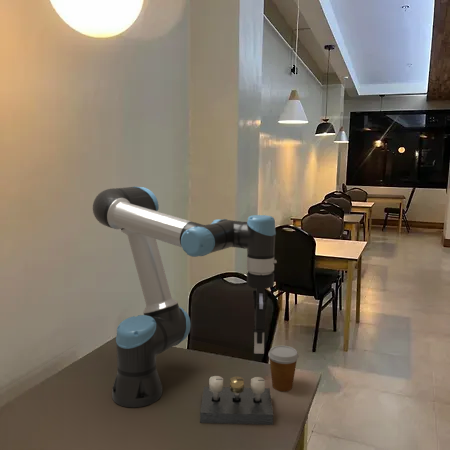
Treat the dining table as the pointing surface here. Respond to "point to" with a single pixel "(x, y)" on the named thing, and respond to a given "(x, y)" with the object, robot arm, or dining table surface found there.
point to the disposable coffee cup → (283, 367)
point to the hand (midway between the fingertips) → (258, 352)
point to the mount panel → (236, 407)
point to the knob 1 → (215, 386)
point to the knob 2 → (257, 387)
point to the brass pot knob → (236, 386)
